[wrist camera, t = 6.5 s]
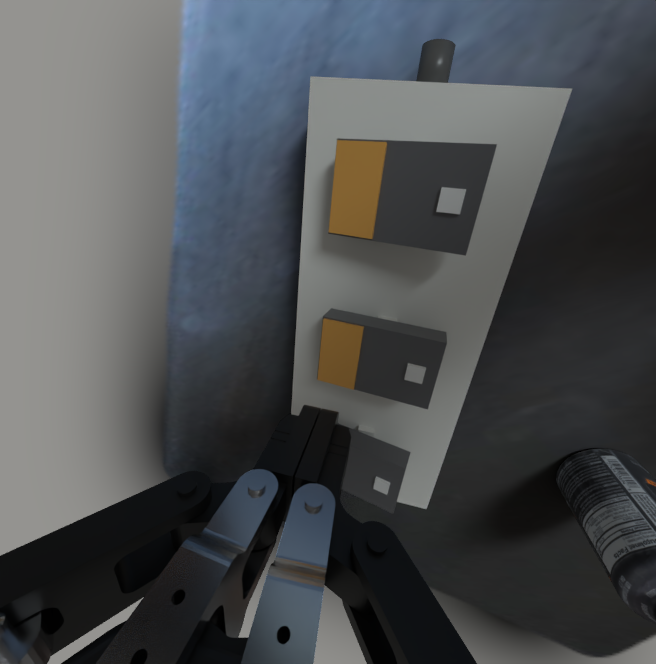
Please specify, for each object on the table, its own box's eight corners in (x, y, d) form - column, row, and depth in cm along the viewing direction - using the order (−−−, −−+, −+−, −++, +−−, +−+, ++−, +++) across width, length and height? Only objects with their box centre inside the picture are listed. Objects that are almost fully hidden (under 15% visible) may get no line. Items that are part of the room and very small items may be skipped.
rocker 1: (495, 150, 13) (497, 143, 12) (467, 251, 15) (465, 256, 14) (349, 144, 16) (335, 137, 14) (339, 231, 18) (326, 234, 16)
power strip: (550, 66, 16) (600, 22, 12) (423, 470, 29) (426, 514, 25) (329, 58, 18) (308, 18, 14) (299, 440, 31) (284, 477, 27)
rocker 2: (446, 332, 18) (447, 344, 16) (428, 394, 19) (427, 411, 18) (331, 308, 19) (321, 317, 18) (324, 367, 21) (315, 380, 20)
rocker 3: (410, 452, 21) (405, 471, 19) (398, 495, 23) (392, 516, 21) (320, 416, 23) (308, 430, 22) (315, 458, 25) (304, 473, 24)
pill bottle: (647, 493, 25) (818, 697, 15) (563, 504, 27) (663, 690, 17) (632, 438, 23) (813, 623, 13) (545, 454, 25) (642, 624, 15)
